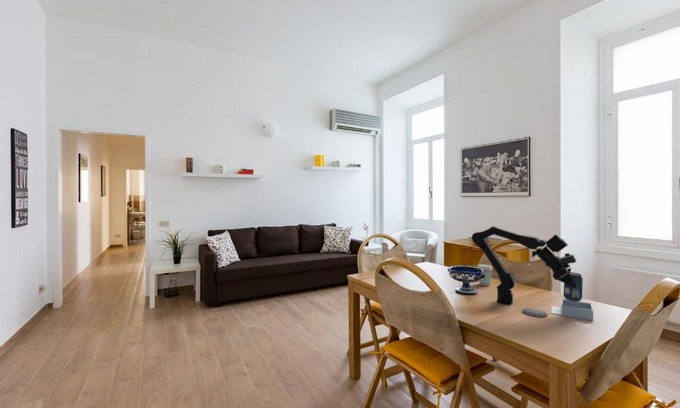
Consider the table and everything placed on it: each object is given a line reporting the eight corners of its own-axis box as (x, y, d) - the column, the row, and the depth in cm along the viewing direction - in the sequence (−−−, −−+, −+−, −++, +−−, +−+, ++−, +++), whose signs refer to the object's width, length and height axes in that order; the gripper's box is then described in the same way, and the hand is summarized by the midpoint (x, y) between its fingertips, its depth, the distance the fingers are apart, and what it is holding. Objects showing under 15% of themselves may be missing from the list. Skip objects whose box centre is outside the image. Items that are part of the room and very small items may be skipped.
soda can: (571, 296, 155) (572, 271, 155) (585, 301, 148) (586, 275, 148) (559, 297, 153) (560, 272, 153) (573, 302, 147) (574, 275, 146)
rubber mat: (521, 314, 151) (521, 313, 151) (523, 308, 159) (523, 307, 159) (547, 318, 145) (547, 317, 145) (547, 312, 154) (547, 311, 154)
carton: (551, 313, 152) (551, 303, 152) (552, 304, 165) (552, 295, 165) (593, 320, 144) (593, 310, 144) (590, 310, 156) (590, 301, 156)
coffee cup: (495, 286, 199) (495, 266, 199) (484, 287, 196) (484, 267, 196) (484, 282, 207) (484, 263, 207) (473, 283, 204) (474, 264, 204)
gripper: (562, 250, 145) (593, 279, 139) (565, 245, 160) (593, 271, 154) (541, 265, 150) (569, 294, 144) (545, 259, 165) (571, 285, 159)
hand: (576, 285), depth 150 cm, fingers closed on soda can, 7 cm apart
